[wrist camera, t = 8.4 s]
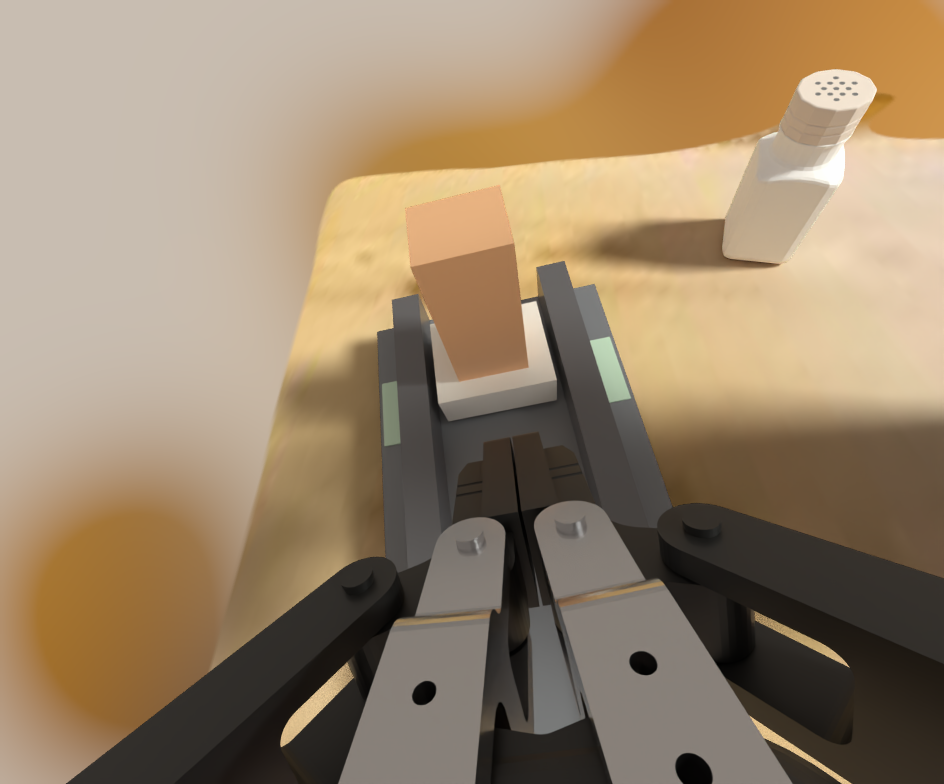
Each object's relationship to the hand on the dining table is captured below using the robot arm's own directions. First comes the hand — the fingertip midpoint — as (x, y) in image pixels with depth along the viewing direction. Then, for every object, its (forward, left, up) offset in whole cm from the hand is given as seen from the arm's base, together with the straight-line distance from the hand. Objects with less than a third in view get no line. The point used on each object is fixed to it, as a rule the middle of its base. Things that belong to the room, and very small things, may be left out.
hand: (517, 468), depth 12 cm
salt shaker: (-21, -11, -13) cm, 27 cm away
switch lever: (-2, -9, -10) cm, 14 cm away
